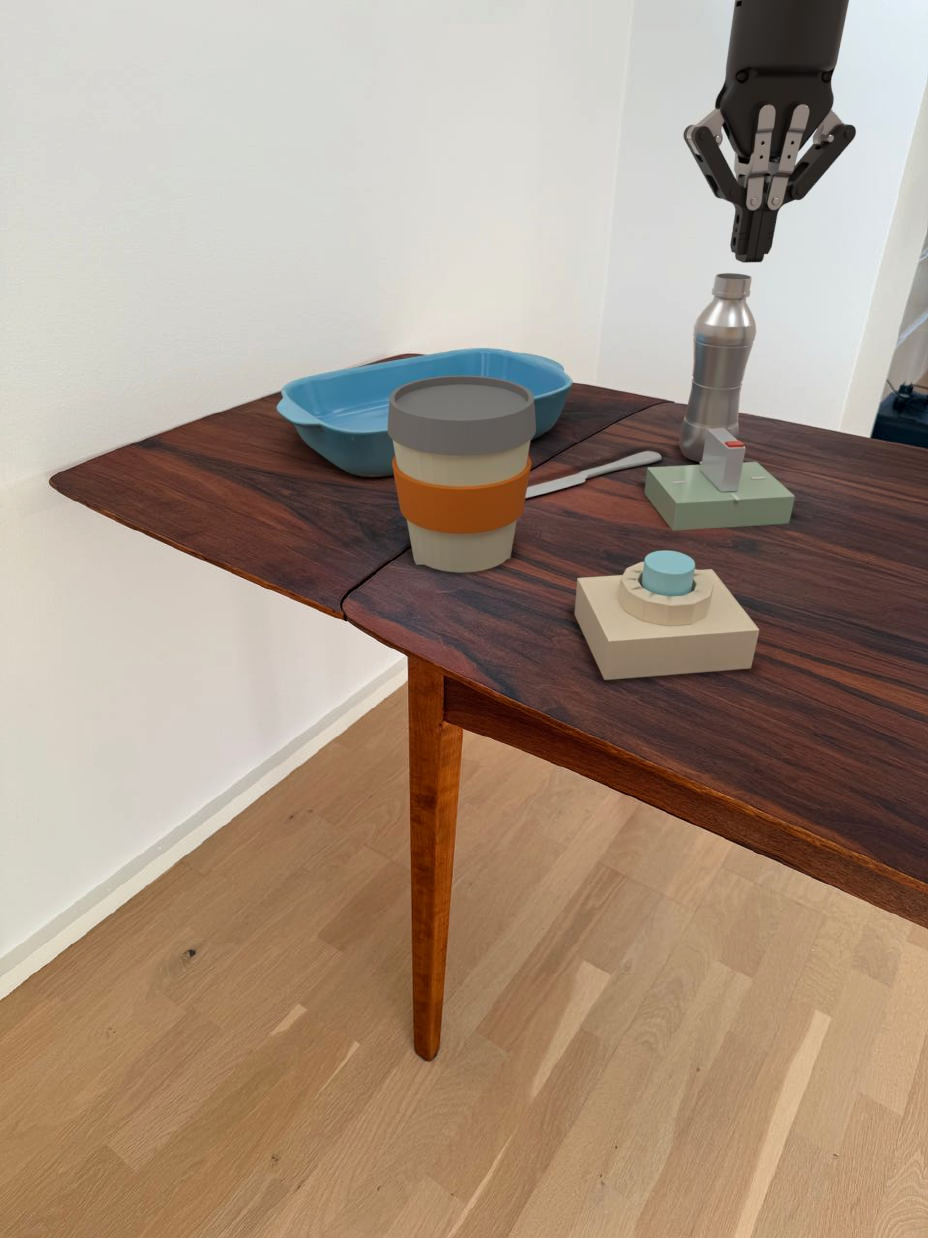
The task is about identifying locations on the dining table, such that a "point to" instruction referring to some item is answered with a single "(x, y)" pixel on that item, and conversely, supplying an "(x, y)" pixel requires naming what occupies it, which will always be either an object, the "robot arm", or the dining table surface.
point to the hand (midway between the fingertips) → (748, 260)
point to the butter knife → (594, 473)
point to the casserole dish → (359, 397)
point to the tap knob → (723, 459)
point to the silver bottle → (718, 363)
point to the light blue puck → (668, 573)
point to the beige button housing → (663, 626)
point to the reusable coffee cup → (461, 467)
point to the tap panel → (717, 498)
